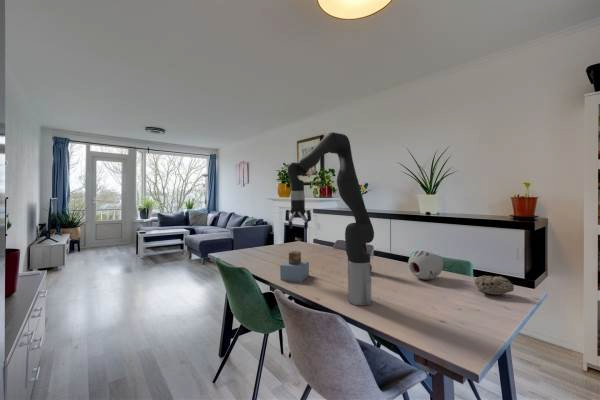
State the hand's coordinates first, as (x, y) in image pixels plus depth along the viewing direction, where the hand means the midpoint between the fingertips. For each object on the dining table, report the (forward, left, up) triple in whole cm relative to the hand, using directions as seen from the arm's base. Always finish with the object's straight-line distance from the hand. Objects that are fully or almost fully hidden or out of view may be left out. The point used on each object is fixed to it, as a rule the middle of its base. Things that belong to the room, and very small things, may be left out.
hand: (298, 228), depth 149 cm
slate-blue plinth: (+2, +2, -27) cm, 27 cm away
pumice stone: (-90, -2, -27) cm, 94 cm away
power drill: (-28, -22, -26) cm, 45 cm away
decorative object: (-65, -18, -26) cm, 73 cm away
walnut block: (+2, +2, -19) cm, 19 cm away
